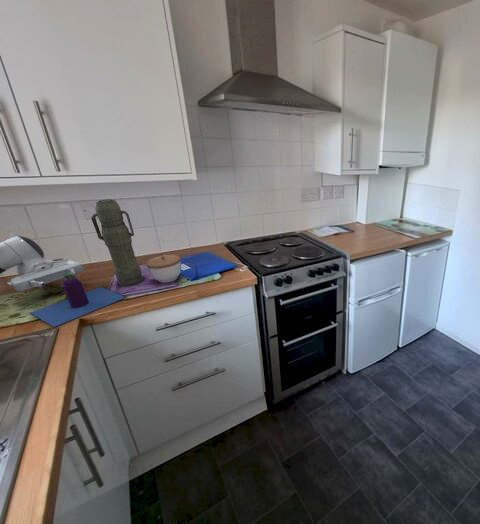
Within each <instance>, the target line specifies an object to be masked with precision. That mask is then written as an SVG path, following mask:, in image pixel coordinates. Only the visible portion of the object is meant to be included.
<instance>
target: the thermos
mask: <svg viewBox="0 0 480 524" xmlns="http://www.w3.org/2000/svg"><path fill="white" fill-rule="evenodd" d="M95 212H96V213H94V214H92V216H91V218H90V220H91V222H92V224H93V227H94V229H95V233H96V235H97V239H99V240H101V241H104V245H105V246H106V247H107V249H108V252H109V255H110V258H111V261H112V265H113V267H114V275H115V279H116V280H117V281H118V285H119V286H121V287H130V286H133V285H137V284H139V283H141V282H142V281H143V280H144V278H143V277H144V276H143V272H142V269H141V267H140V265H139V263H138V261H137V258H136V254H135V251H134V248H133V245H132V243H133V240H132V237H134V236H135V232H134V229H133V225H132V222H131V217H130V215H129V213H128V212H127V211H126V210H122V209H121V206H120V205H119V203H118V202H117V201H116V200H114V199H111V198H110V199H109V198H108V199H100V200H98V201H96V203H95ZM123 215H125V216H126V219H127V222H128V223H127V224H128V226H129V227H128V226H127V225H126V222H125V221H124V217H123ZM96 217H97V218H98V221H99V223H100V227H101V230H100V227H99V224H98V221H97V219H96ZM129 229H130V230H129Z"/></svg>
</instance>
